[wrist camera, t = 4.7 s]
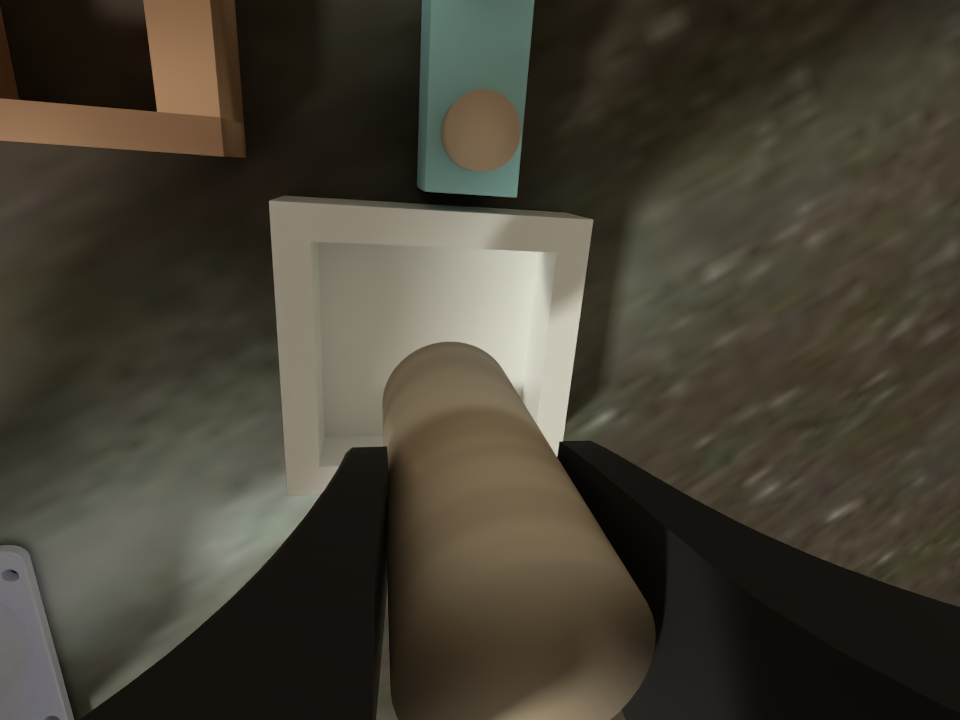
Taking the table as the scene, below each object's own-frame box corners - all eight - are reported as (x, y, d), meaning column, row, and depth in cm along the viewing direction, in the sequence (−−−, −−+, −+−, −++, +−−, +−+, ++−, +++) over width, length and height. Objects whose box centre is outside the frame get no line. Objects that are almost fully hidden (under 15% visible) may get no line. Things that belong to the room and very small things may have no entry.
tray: (536, 447, 21) (557, 483, 18) (298, 455, 19) (287, 495, 17) (565, 212, 18) (593, 219, 15) (284, 195, 16) (268, 200, 14)
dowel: (507, 453, 14) (638, 740, 7) (385, 463, 13) (395, 785, 6) (513, 339, 13) (673, 544, 6) (379, 343, 12) (385, 576, 5)
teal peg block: (494, 191, 17) (528, 200, 13) (416, 187, 17) (429, 194, 13) (513, -70, 15) (562, -153, 11) (424, -85, 14) (441, -178, 10)
